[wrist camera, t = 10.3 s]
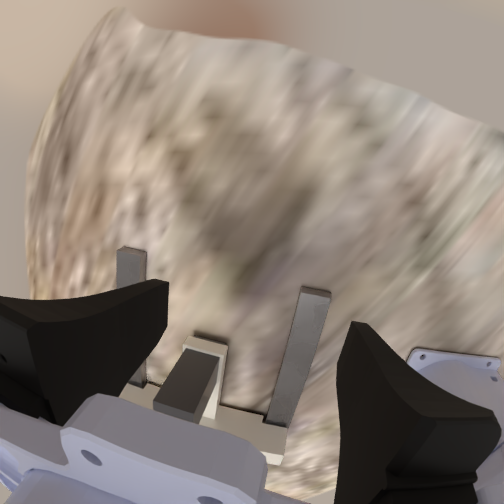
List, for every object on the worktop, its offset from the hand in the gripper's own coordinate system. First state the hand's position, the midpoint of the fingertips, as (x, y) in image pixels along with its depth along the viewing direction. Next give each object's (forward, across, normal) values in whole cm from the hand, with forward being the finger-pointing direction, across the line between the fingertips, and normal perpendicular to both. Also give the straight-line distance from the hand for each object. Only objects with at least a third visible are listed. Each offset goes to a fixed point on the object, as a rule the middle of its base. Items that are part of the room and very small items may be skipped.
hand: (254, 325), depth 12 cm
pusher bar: (+9, +4, +12) cm, 15 cm away
